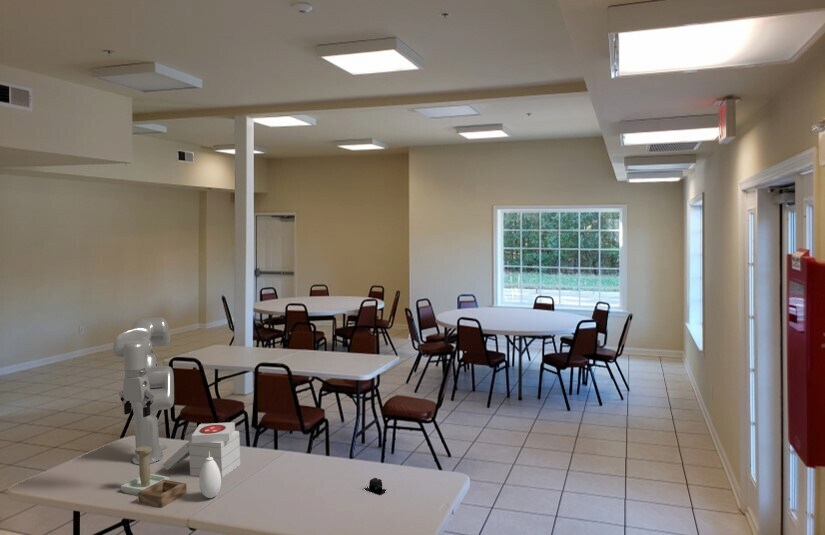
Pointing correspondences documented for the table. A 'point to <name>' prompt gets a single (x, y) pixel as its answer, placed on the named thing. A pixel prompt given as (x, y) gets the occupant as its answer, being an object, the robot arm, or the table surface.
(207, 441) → the pizza box stack
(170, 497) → the small wooden box
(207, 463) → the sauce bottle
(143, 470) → the handle
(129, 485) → the tray
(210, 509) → the table surface
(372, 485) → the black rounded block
